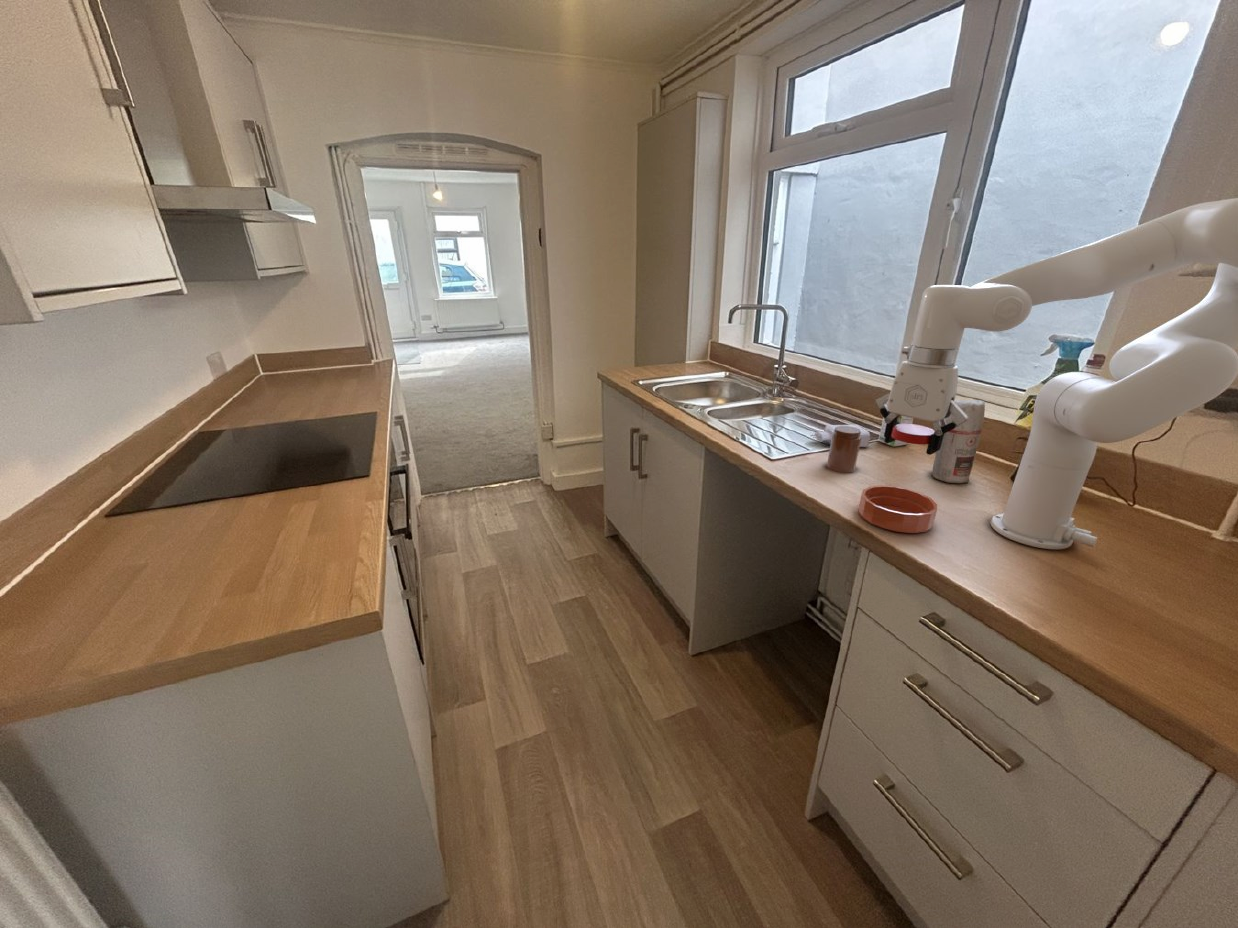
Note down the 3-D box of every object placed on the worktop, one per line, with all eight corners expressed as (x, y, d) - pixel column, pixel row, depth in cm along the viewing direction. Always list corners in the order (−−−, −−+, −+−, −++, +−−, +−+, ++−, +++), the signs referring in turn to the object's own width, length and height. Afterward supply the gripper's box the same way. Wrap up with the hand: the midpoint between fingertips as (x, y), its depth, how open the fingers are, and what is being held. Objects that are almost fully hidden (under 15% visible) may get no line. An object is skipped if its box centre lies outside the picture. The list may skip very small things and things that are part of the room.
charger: (804, 439, 148) (852, 438, 148) (817, 449, 139) (867, 448, 140) (806, 424, 146) (854, 423, 147) (819, 434, 137) (870, 432, 138)
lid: (893, 430, 99) (895, 421, 98) (934, 436, 95) (936, 427, 94) (888, 440, 93) (890, 430, 93) (932, 447, 90) (934, 437, 89)
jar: (859, 467, 126) (866, 429, 122) (848, 475, 122) (855, 435, 118) (833, 460, 131) (840, 423, 127) (822, 467, 127) (828, 429, 123)
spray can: (933, 482, 118) (954, 402, 110) (925, 469, 125) (944, 394, 117) (973, 486, 115) (997, 405, 108) (963, 473, 122) (985, 397, 115)
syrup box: (877, 440, 146) (886, 394, 140) (892, 438, 147) (902, 392, 142) (892, 447, 141) (903, 398, 135) (908, 444, 142) (919, 397, 137)
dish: (943, 521, 100) (949, 502, 98) (912, 542, 92) (918, 521, 90) (878, 498, 110) (882, 480, 108) (845, 515, 102) (849, 496, 101)
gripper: (874, 352, 93) (857, 439, 99) (978, 366, 80) (950, 465, 86) (893, 348, 97) (875, 432, 104) (995, 361, 84) (967, 456, 91)
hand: (910, 446), depth 95 cm, fingers closed on lid, 7 cm apart
